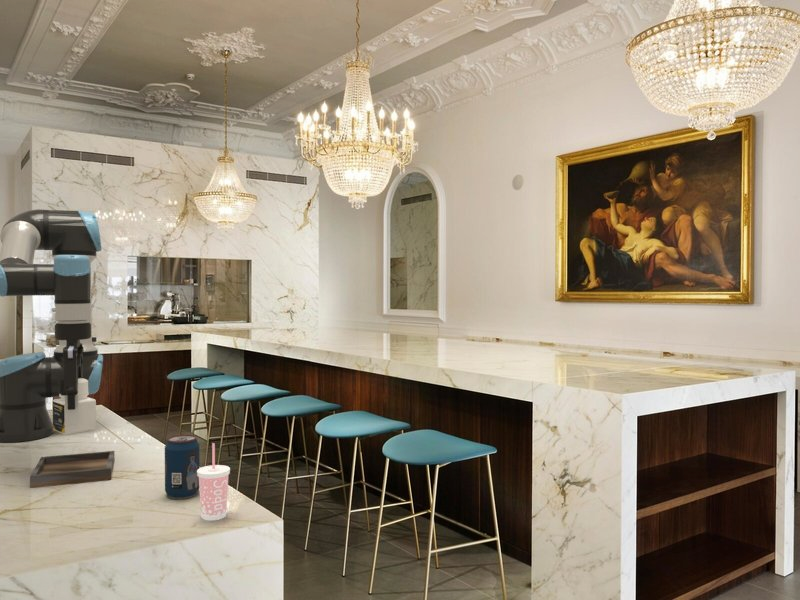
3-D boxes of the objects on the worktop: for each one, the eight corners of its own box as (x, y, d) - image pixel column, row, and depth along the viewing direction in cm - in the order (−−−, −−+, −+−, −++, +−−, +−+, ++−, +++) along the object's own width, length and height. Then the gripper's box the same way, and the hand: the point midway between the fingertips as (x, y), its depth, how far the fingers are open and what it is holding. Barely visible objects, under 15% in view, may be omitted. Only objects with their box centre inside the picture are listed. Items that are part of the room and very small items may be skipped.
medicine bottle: (52, 430, 150) (51, 378, 149) (84, 425, 155) (83, 375, 154) (64, 435, 145) (63, 381, 144) (96, 430, 150) (96, 378, 150)
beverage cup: (199, 523, 120) (198, 448, 119) (195, 512, 125) (194, 441, 125) (232, 519, 122) (232, 445, 122) (227, 508, 128) (227, 438, 127)
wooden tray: (41, 467, 155) (41, 456, 155) (114, 460, 161) (114, 450, 161) (30, 487, 140) (29, 476, 140) (111, 479, 146) (110, 468, 146)
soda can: (172, 488, 140) (172, 433, 139) (204, 489, 139) (204, 433, 139) (159, 499, 133) (159, 441, 132) (193, 500, 132) (192, 442, 132)
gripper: (60, 319, 158) (62, 411, 159) (47, 325, 137) (49, 430, 138) (94, 318, 161) (95, 409, 161) (86, 324, 140) (88, 427, 141)
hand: (74, 419), depth 150 cm, fingers closed on medicine bottle, 9 cm apart
